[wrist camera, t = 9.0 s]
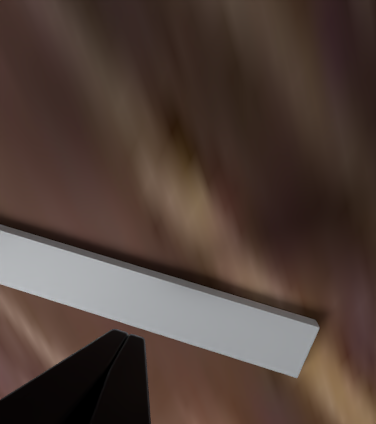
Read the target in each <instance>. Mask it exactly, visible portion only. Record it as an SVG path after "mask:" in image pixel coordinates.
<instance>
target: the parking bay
mask: <svg viewBox="0 0 376 424" xmlns="http://www.w3.org/2000/svg"><path fill="white" fill-rule="evenodd" d="M0 284H2V285H5V286H8V287H11V288H14V289H18V290H21V291H24V292H27V293H30V294H33V295H37V296H40V297H43V298H46V299H49V300H52V301H55V302H59V303H62V304H65V305H68V306H71V307H74V308H78V309H81V310H84V311H87V312H90V313H93V314H97V315H100V316H103V317H106V318H109V319H112V320H115V321H119V322H122V323H125V324H128V325H131V326H134V327H138V328H141V329H144V330H147V331H150V332H153V333H157V334H160V335H163V336H166V337H169V338H172V339H175V340H179V341H182V342H185V343H188V344H191V345H194V346H198V347H201V348H204V349H207V350H210V351H213V352H216V353H220V354H223V355H226V356H229V357H232V358H235V359H239V360H242V361H245V362H248V363H251V364H254V365H258V366H261V367H264V368H267V369H270V370H273V371H276V372H280V373H283V374H286V375H289V376H292V377H295V378H297V377H298V375H299V373H300V371H301V368H302V366H303V364H304V362H305V359H306V357H307V355H308V353H309V351H310V348H311V346H312V344H313V342H314V340H315V337H316V335H317V333H318V331H319V328H320V327H319V325H318V323H317V322H316V320H314V319H311V318H308V317H304V316H301V315H298V314H295V313H291V312H288V311H285V310H281V309H278V308H275V307H271V306H268V305H265V304H262V303H258V302H255V301H252V300H248V299H245V298H242V297H238V296H235V295H232V294H229V293H225V292H222V291H219V290H215V289H212V288H209V287H205V286H202V285H199V284H196V283H192V282H189V281H186V280H182V279H179V278H176V277H172V276H169V275H166V274H163V273H159V272H156V271H153V270H149V269H146V268H143V267H139V266H136V265H133V264H130V263H126V262H123V261H120V260H116V259H113V258H110V257H106V256H103V255H100V254H97V253H93V252H90V251H87V250H83V249H80V248H77V247H73V246H70V245H67V244H64V243H60V242H57V241H54V240H50V239H47V238H44V237H40V236H37V235H34V234H31V233H27V232H24V231H21V230H17V229H14V228H11V227H7V226H4V225H1V224H0Z"/></svg>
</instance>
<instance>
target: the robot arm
mask: <svg viewBox="0 0 376 424" xmlns="http://www.w3.org/2000/svg"><path fill="white" fill-rule="evenodd" d="M0 424H151V418H150V404H149V390H148V376H147V362H146V348H145V339H144V338H143V337H140V336H137V335H133V334H130V335H129V336H128V333H127V332H124V331H121V330H117V329H112V330H110V331H109V332H107V333H106V334H104V335H103V336H101V337H99V338H98V339H96V340H95V341H93V342H91V343H90V344H88V345H87V346H85V347H83V348H82V349H80V350H79V351H77V352H75V353H74V354H72V355H71V356H69V357H67V358H66V359H64V360H63V361H61V362H59V363H58V364H56V365H55V366H53V367H52V368H50V369H48V370H47V371H45V372H44V373H42V374H40V375H39V376H37V377H36V378H34V379H32V380H31V381H29V382H28V383H26V384H24V385H23V386H21V387H20V388H18V389H16V390H15V391H13V392H12V393H10V394H8V395H7V396H5V397H4V398H2V399H1V400H0Z"/></svg>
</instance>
